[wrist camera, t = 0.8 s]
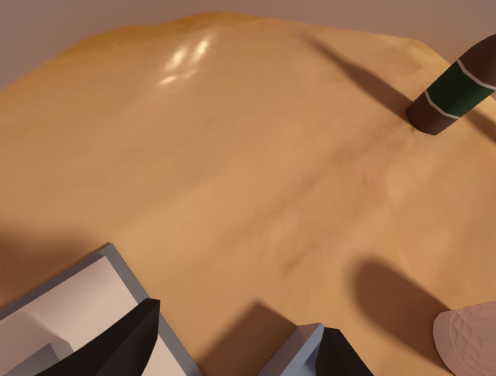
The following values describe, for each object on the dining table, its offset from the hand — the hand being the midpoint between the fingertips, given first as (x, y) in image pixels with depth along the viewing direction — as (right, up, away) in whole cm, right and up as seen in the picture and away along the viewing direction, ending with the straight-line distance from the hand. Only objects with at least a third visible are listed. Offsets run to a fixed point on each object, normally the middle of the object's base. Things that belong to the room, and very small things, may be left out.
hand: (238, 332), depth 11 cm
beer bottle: (+33, +19, +39) cm, 54 cm away
